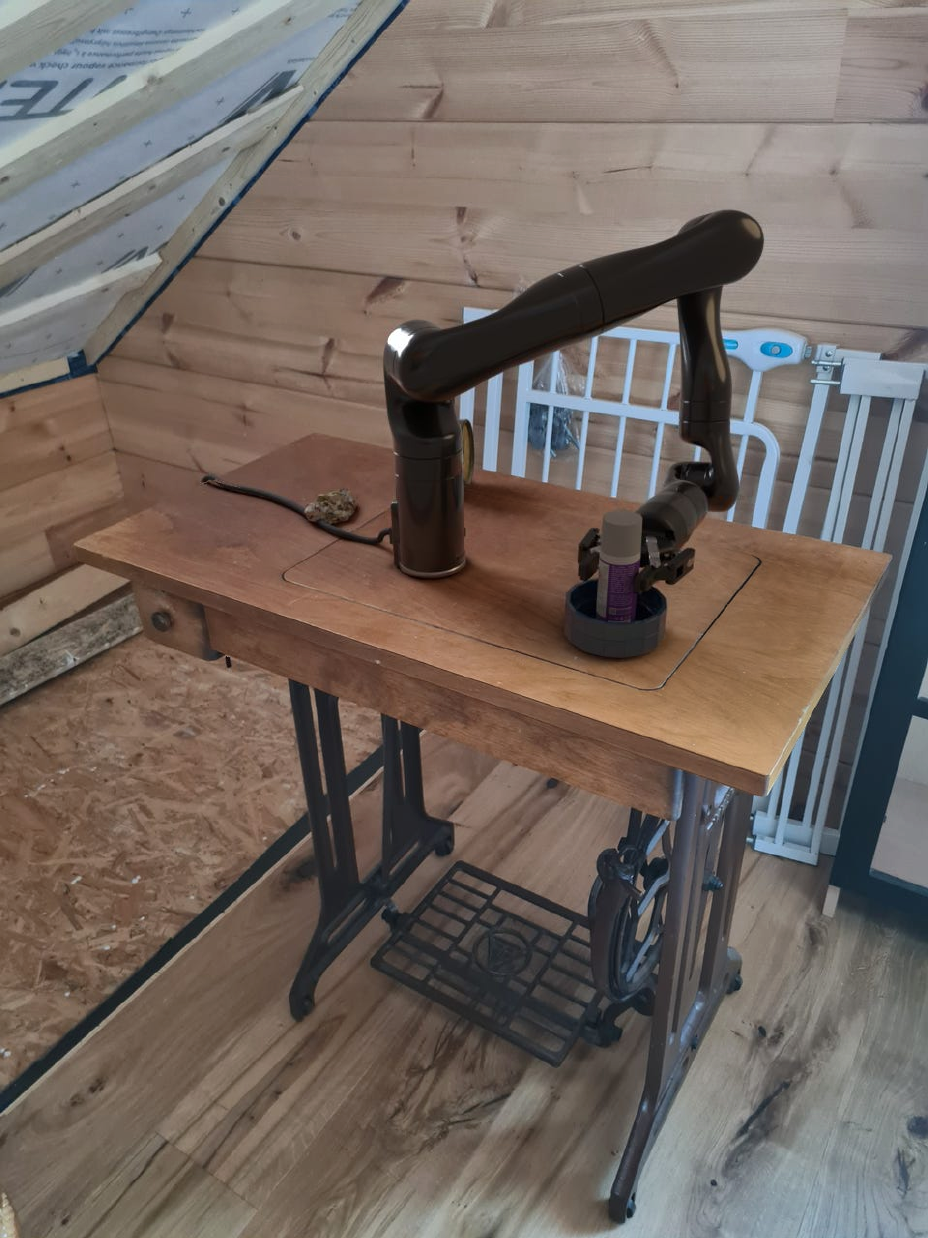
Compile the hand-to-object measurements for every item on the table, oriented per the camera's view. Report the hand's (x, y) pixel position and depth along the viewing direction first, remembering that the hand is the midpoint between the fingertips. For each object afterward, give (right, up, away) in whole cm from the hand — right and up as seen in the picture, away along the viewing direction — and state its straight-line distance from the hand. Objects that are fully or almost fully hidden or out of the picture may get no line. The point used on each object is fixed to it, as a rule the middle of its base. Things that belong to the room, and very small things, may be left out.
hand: (609, 580), depth 106 cm
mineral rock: (-38, +12, +41) cm, 57 cm away
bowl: (+1, -7, +6) cm, 9 cm away
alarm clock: (-18, +17, +49) cm, 55 cm away
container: (+2, -6, +6) cm, 9 cm away
